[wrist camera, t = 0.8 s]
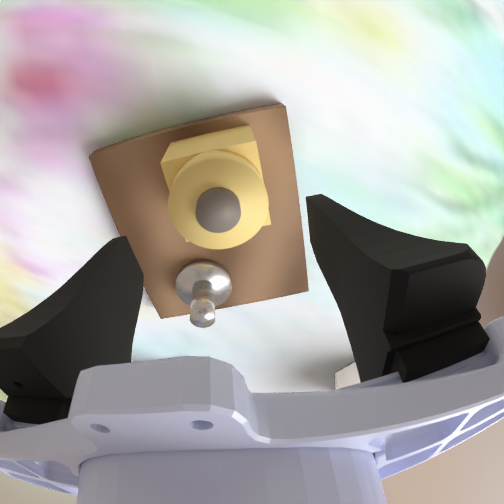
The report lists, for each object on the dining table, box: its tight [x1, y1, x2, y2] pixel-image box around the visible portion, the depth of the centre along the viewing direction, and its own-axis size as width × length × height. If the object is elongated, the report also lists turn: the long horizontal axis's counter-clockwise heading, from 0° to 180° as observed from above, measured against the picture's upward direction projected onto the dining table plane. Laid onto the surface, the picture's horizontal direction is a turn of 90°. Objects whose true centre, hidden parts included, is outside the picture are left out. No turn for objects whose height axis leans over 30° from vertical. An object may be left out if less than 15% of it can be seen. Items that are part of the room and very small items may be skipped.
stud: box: [175, 259, 232, 328], centre depth 22 cm, size 4×4×4 cm
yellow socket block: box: [160, 125, 271, 249], centre depth 16 cm, size 5×5×6 cm
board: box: [89, 103, 309, 319], centre depth 22 cm, size 12×14×1 cm
